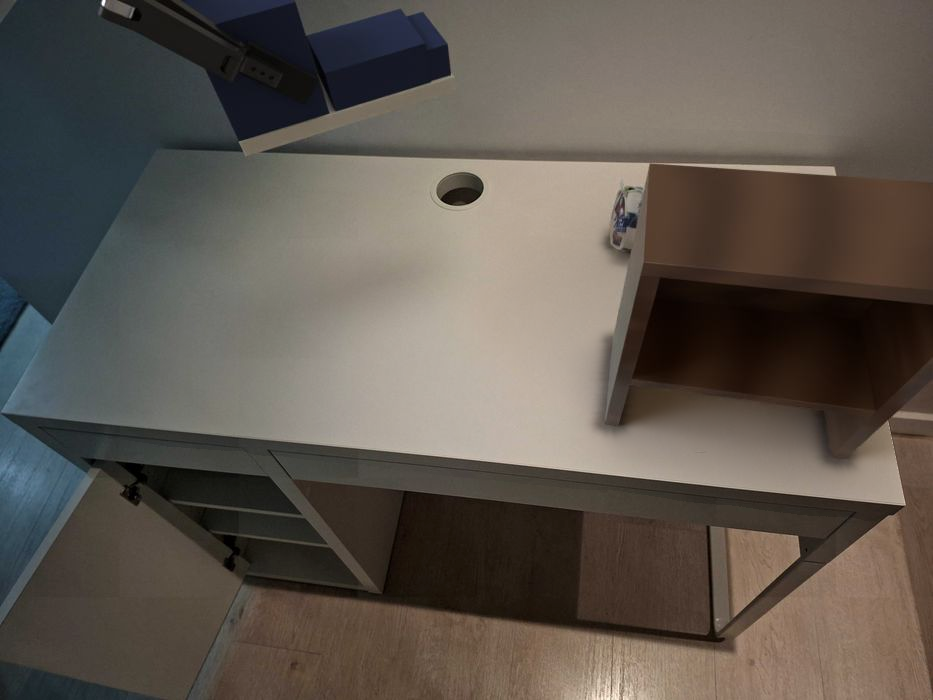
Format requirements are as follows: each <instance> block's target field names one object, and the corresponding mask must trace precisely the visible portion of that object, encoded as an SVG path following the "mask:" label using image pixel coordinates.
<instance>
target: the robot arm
mask: <svg viewBox="0 0 933 700" xmlns="http://www.w3.org/2000/svg"><path fill="white" fill-rule="evenodd" d="M17 1H18V0H0V24H2V22H3V21H4V19H5V17H6V16H7V15H8V14H9V12H10V11H11V10H12V8H13V6H14V5H15V4H16V2H17ZM99 1H100V2H99V6H98V9H97V14H98V16H100V17H101V19H103V20H105V21H107V22H110V23H112V24H114V25H117V26H120V27H122V28H126V29H128V30H130V31H132V32H134V33H137V34H138V35H140V36H142V37H144V38H146V39H147V40H150V41H152V42H154V43H155V44H157V45H159V46H161V47H163V48H165V49H167V50H168V51H171V52H173V53H174V54H176V55H178V56H179V57H181V58H183V59H186V60H188V61H189V62H190V63H193V64H195V65H196V66H199V67H201V68H202V69H204V70H205V69H206V70H208V71H210V72H212V73H214V74H216V75H218V76H219V77H221V78H223V79H225V80H226V81H228V82H231V83H233V82H234V81H235V79H236V76H237V74H238V73H239V74H241V75H243V76H245V77H247V78H249V79H251V80H254V81H256V82H258V83H260V84H262V85H264V86H266V87H268V88H270V89H272V90H274V91H276V92H278V93H281V94H283V95H285V96H287V97H289V98H291V99H293V100H295V101H297V102H299V103H301V104H303V105H305V104H306V102H307V100H308V99H309V97H310V95H311V93H312V91H313V89H314V88H315V86H316V84H317V82H318V78H317V76H316V75H314V74H312V73H310V72H308V71H306V70H304V69H302V68H300V67H299V66H297V65H295V64H293V63H291V62H289V61H287V60H285V59H283V58H281V57H280V56H278V55H276V54H274V53H272V52H270V51H268V50H266V49H264V48H262V47H261V46H259V45H257V44H255V43H253V42H251V41H249V40H248V42H247V44H245V43H244V42H242V41H240V40H239V39H237V38H236V37H234V36H233V35H231V34H230V33H228V32H227V31H225V30H224V29H222V28H221V27H219V26H217V25H215V24H214V23H213V22H212V21H210V20H209V19H207V18H206V17H204V16H203V15H201V14H200V13H198V12H197V11H195V10H194V9H192V8H191V7H189V6H188V5H186V4H185V3H183V2H182V1H180V0H99ZM225 57H226V58H225ZM206 70H205V71H206Z"/></svg>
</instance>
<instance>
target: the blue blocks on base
mask: <svg viewBox="0 0 933 700" xmlns="http://www.w3.org/2000/svg"><path fill="white" fill-rule="evenodd" d="M180 1H182V2H183V3H185V4H186V5H188V6H189V7H191V8H192V9H194V10H195V11H197V12H198V13H200V14H201V15H203V16H204V17H206V18H207V19H209V20H210V21H212V22H213V23H214V24H215V25H217V26H219V27H221V28H222V29H224V30H225V31H227V32H228V33H230V34H231V35H233V36H234V37H236V38H237V39H239V40H240V41H242V42H244V43H245V44H247V42H248V40H249V41H251V42H253V43H255V44H257V45H259V46H261V47H262V48H264V49H266V50H268V51H270V52H272V53H274V54H276V55H278V56H280V57H281V58H283V59H285V60H287V61H289V62H291V63H293V64H295V65H297V66H299V67H300V68H302V69H304V70H306V71H308V72H310V73H312V74H314V75H316V76H317V78H318V82H317V84H316V86H315V88H314V89H313V91H312V93H311V95H310V97H309V99H308V100H307V102H306V104H305V105H303V104H301V103H299V102H297V101H295V100H293V99H291V98H289V97H287V96H285V95H283V94H281V93H278V92H276V91H274V90H272V89H270V88H268V87H266V86H264V85H262V84H260V83H258V82H256V81H254V80H251V79H249V78H247V77H245V76H243V75H241V74H239V73H238V74H237V76H236V79H235V81H234V82H233V83H231V82H228V81H226V80H225V79H223V78H221V77H219V76H218V75H216V74H214V73H212V72H210V71H208V70H206V69H204V70H205V72H206V74H207V77H208V79H209V81H210V82H211V84H212V87H213V90H214V91H215V94H216V96H217V98H218V100H219V102H220V104H221V107H222V108H223V111H224V113H225V115H226V117H227V120H228V122H229V124H230V126H231V128H232V130H233V132H234V134H235V136H236V139H237V141H238V143H239V145H240V147H241V150H242V151H243V153H244V156H245V157H250V156H252V155H255V154H259V153H263V152H265V151H268V150H272V149H274V148H278V147H281V146H284V145H288V144H291V143H294V142H299V141H301V140H304V139H308V138H310V137H314V136H316V135H320V134H323V133H326V132H329V131H333V130H336V129H339V128H342V127H347V126H349V125H353V124H356V123H358V122H362V121H365V120H368V119H371V118H374V117H377V116H381V115H384V114H387V113H390V112H394V111H396V110H400V109H403V108H406V107H409V106H414V105H416V104H419V103H422V102H425V101H429V100H433V99H435V98H438V97H442V96H444V95H445V96H446V95H449V94H451V93H455V92H456V91H457V87H456V85H457V84H456V78H455V75H454V73H452V68H451V62H450V61H451V60H450V51H449V43H448V42H447V41H446V39H445V38H444V37H443V36H442V34H441V32H439V30H438V29H437V28H436V27H435V25H434V24H433V23H432V21H431V20H430V19H429V18H428V16H427V15H426V14H425V12H424V11H421V12H417V13H416V12H415V13H413V14H410V15H406V14H405V12H404V11H403V10H402V8H398V9H395V10H390V11H388V12H384V13H380V14H377V15H373V16H370V17H366V18H363V19H359V20H355V21H352V22H348V23H345V24H341V25H338V26H334V27H331V28H327V29H324V30H321V31H317V32H313V33H310V34H307V35H306V32H305V27H304V25H303V21H302V17H301V15H300V12H299V9H298V6H297V1H296V0H180ZM225 58H226V57H225Z"/></svg>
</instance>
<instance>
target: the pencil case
mask: <svg viewBox="0 0 933 700" xmlns="http://www.w3.org/2000/svg"><path fill="white" fill-rule="evenodd" d="M623 180H624V179H622V178H621V179H620V180H619V186H620V188H619V189H618V191H617V193H616V196H615V199H614V203H613V207H612V209H611V210H612V211H611V214H610V215H611V216H610V223H609V238H610V241H609V243H610V246H611V247H612V248H614V249H615V250H617V251H619V252H631V250H632V245H633V241H634V236H635V231H636V226H637V222H638V217H639V212H640V207H641V203H642V198H643V193H644V187H643V186H641V185H636V186H633V185H626V186H625V184H624V182H623Z"/></svg>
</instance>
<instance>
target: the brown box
mask: <svg viewBox="0 0 933 700" xmlns="http://www.w3.org/2000/svg"><path fill="white" fill-rule="evenodd" d="M645 179H646V180H645V183H644V187H643V190H644V193H643V198H642V203H641V207H640V212H639V217H638V222H637V226H636V231H635V236H634V241H633V245H632V250H631V251H630V255H629V260H628V265H627V269H626V273H625V279H624V284H623V289H622V293H621V297H620V302H619V308H618V313H617V316H616V322H615V327H614V331H613V336H612V342H611V351H610V352H611V353H610V362H609V371H608V372H609V374H608V384H607V394H606V406H605V415H604V416H605V417H604V424H605V425H612V426H617V427H618V426H619V425H620V422H621V419H622V415H623V411H624V407H625V404H626V400H627V397H628V393H629V390H630V386H635V387H643V388H652V389H656V390H657V389H658V390H664V391H665V390H666V391H673V392H674V391H675V392H681V393H687V394H688V393H689V394H694V395H703V396H711V397H717V398H724V399H725V398H726V399H733V400H740V401H747V402H748V401H749V402H755V403H756V402H757V403H763V404H769V405H777V406H784V407H785V406H786V407H792V408H793V407H794V408H801V409H807V410H815V411H823V413H824V421H825V429H826V436H827V444H828V451H829V457H830V458H835V459H836V458H837V459H841V460H846V459H848V458H849V457H850V456H851V455H852V454H853V453H854V452H855V451H857V449H858V448H859V447H861V446H862V445H863V444H864V443H865V442H866V441H867V440H868V439H870V438H871V437H872V436H873V435H874V434H875V433H877V431H878V430H879V429H880V428H881V427H883V426H884V425H885V424H886V423H887V422H888V421H890V419H892V417H893V416H895V414H897V413H898V412H899V411H900V410H901V409H902V408H903V407H904V406H906V405H907V403H909V402H910V401H911V400H912V399H913V398H914V397H915V396H916V395H917V394H919V393H920V392H921V391H922V390H923V389H924V388H925V387H927V385H928V384H930V383H931V382H932V381H933V181H923V180H922V181H921V180H905V179H892V178H891V179H889V178H874V177H862V176H861V177H860V176H845V175H833V174H832V175H831V174H817V173H801V172H786V171H773V170H772V171H771V170H755V169H741V168H740V169H739V168H725V167H712V166H711V167H709V166H698V165H697V166H694V165H680V164H667V163H649V164H648V170H647V174H646V178H645Z"/></svg>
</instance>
